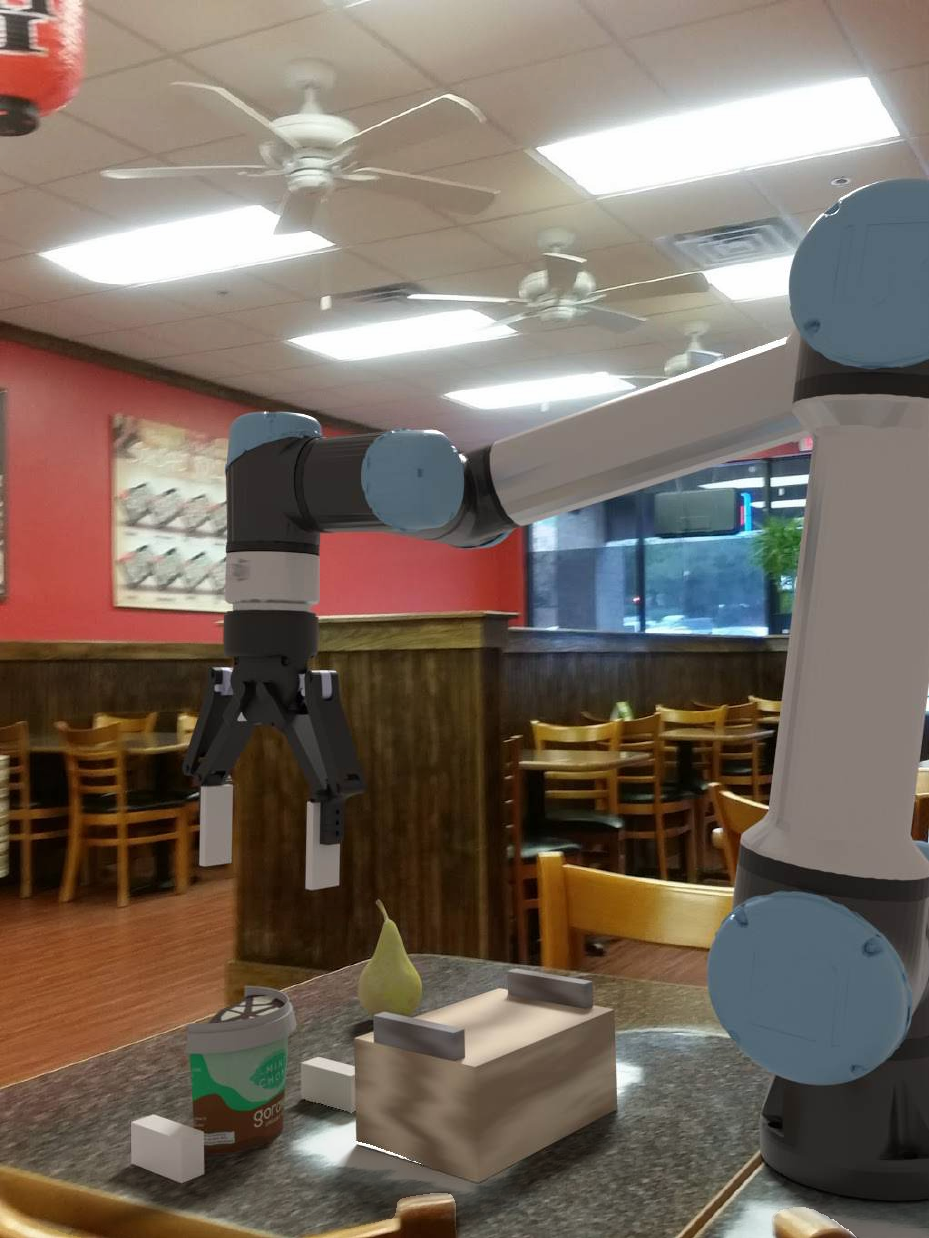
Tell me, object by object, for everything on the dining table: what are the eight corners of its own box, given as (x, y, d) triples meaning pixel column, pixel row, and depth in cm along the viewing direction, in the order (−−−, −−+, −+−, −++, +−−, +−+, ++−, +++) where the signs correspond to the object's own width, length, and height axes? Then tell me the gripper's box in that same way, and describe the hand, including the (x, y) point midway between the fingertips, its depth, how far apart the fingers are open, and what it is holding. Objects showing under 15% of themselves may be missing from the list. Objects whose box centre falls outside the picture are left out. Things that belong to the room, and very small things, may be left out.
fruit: (369, 1034, 121) (367, 913, 122) (348, 1016, 128) (345, 901, 129) (432, 1026, 123) (429, 907, 124) (407, 1008, 130) (405, 895, 131)
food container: (265, 1167, 88) (263, 1028, 89) (187, 1162, 90) (185, 1025, 90) (319, 1107, 101) (316, 985, 101) (249, 1104, 102) (247, 984, 102)
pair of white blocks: (368, 1106, 101) (368, 1069, 101) (181, 1183, 86) (181, 1140, 86) (318, 1091, 104) (318, 1056, 104) (131, 1163, 90) (130, 1122, 90)
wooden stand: (617, 1108, 99) (613, 984, 99) (478, 1183, 85) (474, 1037, 85) (501, 1080, 106) (498, 965, 107) (356, 1144, 92) (353, 1011, 93)
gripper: (144, 609, 103) (138, 860, 102) (340, 604, 86) (334, 905, 85) (217, 612, 108) (212, 850, 108) (414, 608, 91) (410, 891, 91)
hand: (266, 875), depth 96 cm, fingers open, 13 cm apart
